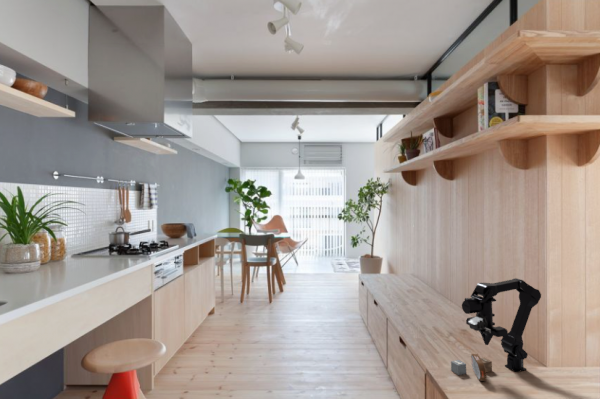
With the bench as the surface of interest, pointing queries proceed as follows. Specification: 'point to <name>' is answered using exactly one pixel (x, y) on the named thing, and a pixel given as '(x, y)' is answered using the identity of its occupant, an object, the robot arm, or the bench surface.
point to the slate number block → (458, 367)
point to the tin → (478, 367)
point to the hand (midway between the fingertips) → (486, 344)
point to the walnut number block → (487, 364)
